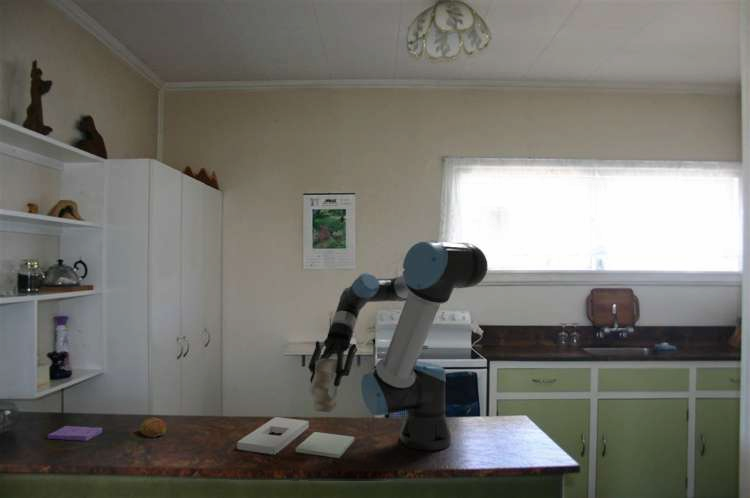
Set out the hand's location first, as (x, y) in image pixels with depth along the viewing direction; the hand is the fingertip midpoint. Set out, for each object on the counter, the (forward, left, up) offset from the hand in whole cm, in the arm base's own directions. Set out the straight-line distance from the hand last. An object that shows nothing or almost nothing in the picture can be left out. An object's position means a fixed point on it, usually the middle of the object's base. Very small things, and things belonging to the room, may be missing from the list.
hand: (320, 394), depth 127 cm
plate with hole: (+16, -4, -16) cm, 23 cm away
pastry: (+54, +4, -16) cm, 56 cm away
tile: (-1, -3, -16) cm, 16 cm away
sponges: (+74, +13, -16) cm, 77 cm away
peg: (0, -4, -5) cm, 6 cm away
